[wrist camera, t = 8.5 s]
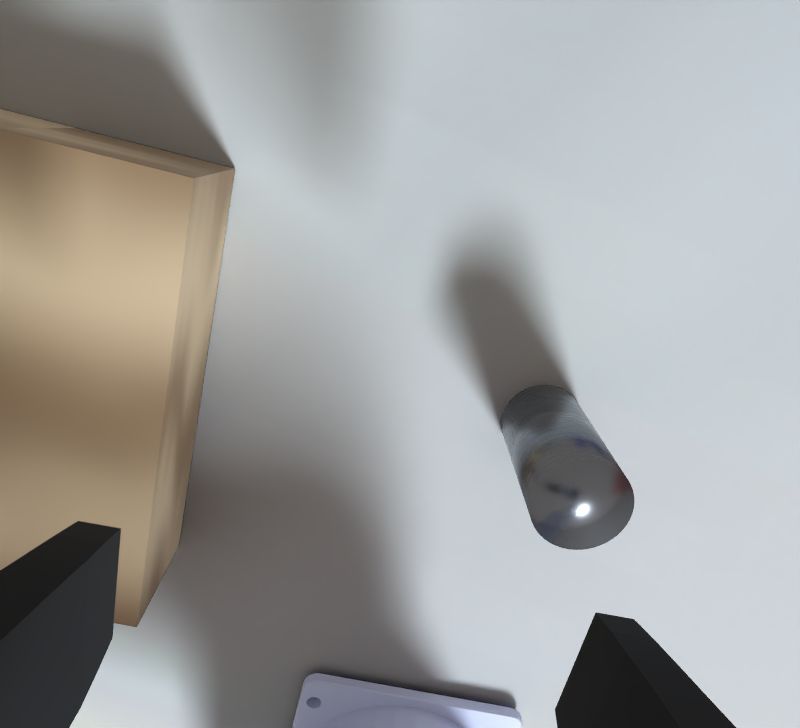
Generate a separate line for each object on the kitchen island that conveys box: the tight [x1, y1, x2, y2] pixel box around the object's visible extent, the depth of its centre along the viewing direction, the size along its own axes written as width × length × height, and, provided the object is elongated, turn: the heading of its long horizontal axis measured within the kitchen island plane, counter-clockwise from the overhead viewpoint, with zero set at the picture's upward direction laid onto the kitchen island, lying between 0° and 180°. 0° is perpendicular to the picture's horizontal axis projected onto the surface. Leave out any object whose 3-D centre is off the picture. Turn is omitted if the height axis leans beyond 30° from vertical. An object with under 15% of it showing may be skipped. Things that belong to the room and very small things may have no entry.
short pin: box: [502, 385, 634, 550], centre depth 16 cm, size 2×2×4 cm
